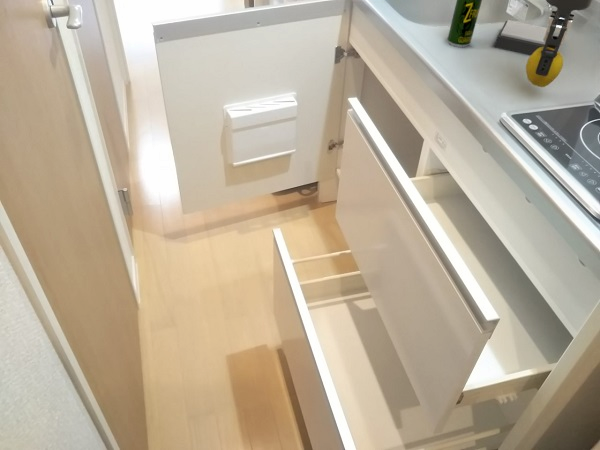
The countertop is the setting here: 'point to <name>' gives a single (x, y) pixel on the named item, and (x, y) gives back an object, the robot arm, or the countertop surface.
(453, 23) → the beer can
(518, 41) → the scale
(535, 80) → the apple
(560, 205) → the countertop surface
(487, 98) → the countertop surface
